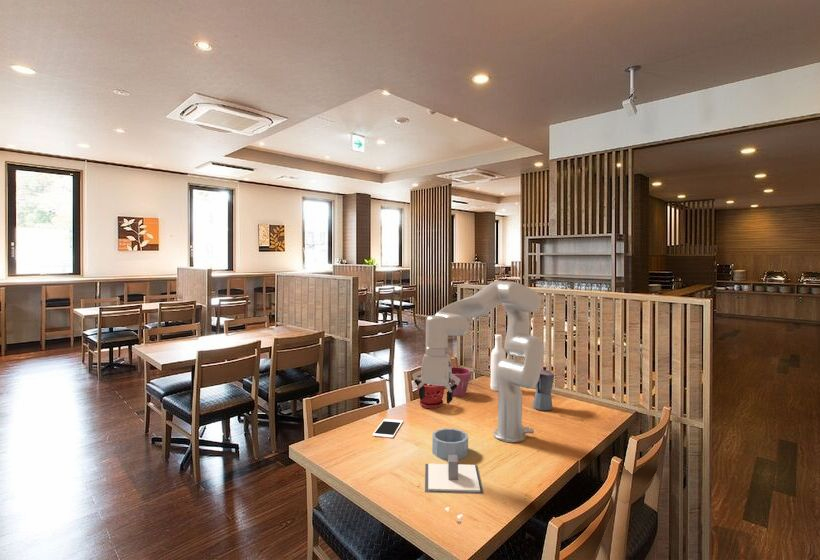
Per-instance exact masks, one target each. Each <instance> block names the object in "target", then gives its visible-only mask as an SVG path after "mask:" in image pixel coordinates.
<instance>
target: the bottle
mask: <svg viewBox="0 0 820 560" xmlns="http://www.w3.org/2000/svg"><path fill="white" fill-rule="evenodd" d="M494 339H495V340H494V348H493V349H492V350H491V353H490V386H489V387H490V390H491V391H493V392H498V381H497V375H496V367H497V364H498V363H499V362H500V361H501V360H503V359H506V354H507V353H506V352H505V349H504V348H503V335H502V334H495V336H494Z"/></svg>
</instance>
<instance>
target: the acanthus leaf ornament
mask: <svg viewBox="0 0 820 560" xmlns="http://www.w3.org/2000/svg"><path fill="white" fill-rule="evenodd" d="M444 510H445V511H446V512H449V510H450V507H449V506H448V507H445V508H444ZM463 516H464V515H463V513H460V514H458V515H457V517H456V518H457V519H458V520H457V521H456V520H455V521H456V524H458V525H459V526H460V525H461V523H462V521H459V520H462V518H463Z"/></svg>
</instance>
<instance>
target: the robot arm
mask: <svg viewBox="0 0 820 560" xmlns="http://www.w3.org/2000/svg"><path fill="white" fill-rule="evenodd" d="M541 303H542V299H541V296H540V294H539V293H538V292H537V291H536V290H534V289H532V288H530V287H527V286H526V285H523V284H521V283H519V282H517V281H516V282H515V281H507V280H506V281H505V280H494V281H492V282H491V283H489V284H487V285H486V286H484V287H483V288H481V289H480V290H479V291H478V292H476V293H475V294H473V295H471V296H468V297H465V298H463V299H460V300H456V301H454V302H452V303H449V304H447V305H445V306H444V307H442V308H441V309H440V310H438V311H437V312H436V313H435V314H433V315H428V316H427V317H426V319H425V353H424V354H423V358H422V361H421V367H420V369H421V370H419V371H416V372H414V373H412V374H411V376H412V377H411V378H412V379H413V381H414V383H415V385H416V387H417V386H418V388H419V395H418V397H419V396H420V398H419V401H420V400H422V399H423V398H425V386H424V384H427V385H429V384H431V385H432V386H435V385H439V386H444V388H446V390H447V392H446V404H448V405H449V404H450V403H451V402H452V401H453V397H454V396H453V390H454V389H455V388H456V387H457V386H458V385H459V383H460V381H461V379H459V378H458V377H456V376H455V375H453V374H452V371H451V367H452V361H451V356H450V355H451V354H452V349H450V348H449V346H448V337H450V336H451V337H461V336H464V335H466V334H467V333H468V331H469V330H470V327H471V326H470V322H469V320H468V319H473V318H479V317H484V316H486V315H488V314H489V313H490V312H491V311H492V310H494V309H495V308H497V307H498V306H499V305H502V307H503V309H504V310H505V312H506V314H507V318H508V319H507V320H508V323H507V327H506V328H507V329H506V334H505V340H504V348H503V349H504V351H505V354H507V355H509V356H512V357H515V358H520V359H524V361H520V360H517V359H512V358H505V359H503V360H501V361H500V362H499V363H498V364H497V367H496V375H497V381H498V391H497V392H498V395H497V399H498V400H497V428H495V430H493V436H494V438H496V439H497V440H500V441H502V442H505V443H506V442H507V443H520V442H523V441H524V440H525V439H526V434H531V435H532V434H534V433H535V432H534V431H535V430H534V428H530V427H529V426H523V423H522V422H523V392H522V389H521V388H524V389H527V390H528V389H533V388H536V385H537V383H538V381H539V377H540V371H541V370H542V366H543V358H544V354H545V353H544V352H545V348H544V347H545V346H544V343H543V341H542V339H541V338H540V337H538V336H535V335H531V334H530V331H529V330H530V325H531V322H530V318H529V315H528V313H534V312H537V311H538V310H539V308H540V307H541ZM449 354H450V355H449ZM418 376H420V378H419V377H418ZM452 379H453V380H454V381H455V384H454V385H453V386H452V384H451V383H450V382H451V381H452ZM420 380H421V381H420Z"/></svg>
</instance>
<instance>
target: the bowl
mask: <svg viewBox="0 0 820 560" xmlns="http://www.w3.org/2000/svg"><path fill="white" fill-rule="evenodd" d="M431 436H432V438H431V439H432V443H431V444H432V454H433V455H434V456H435V457H437V458H439V459H442V460H447V461H448V455H457V458H458V460H460V459H464V458H465V457H466V456H468V454H469V434H468V433H466V432H465V431H463V430H461V429H457V428H447V427H446V428H440V429H437V430H435V431H434V432H432V434H431Z"/></svg>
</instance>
